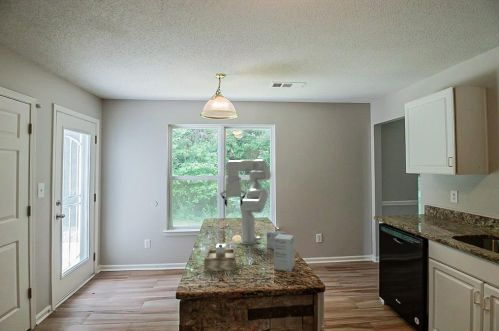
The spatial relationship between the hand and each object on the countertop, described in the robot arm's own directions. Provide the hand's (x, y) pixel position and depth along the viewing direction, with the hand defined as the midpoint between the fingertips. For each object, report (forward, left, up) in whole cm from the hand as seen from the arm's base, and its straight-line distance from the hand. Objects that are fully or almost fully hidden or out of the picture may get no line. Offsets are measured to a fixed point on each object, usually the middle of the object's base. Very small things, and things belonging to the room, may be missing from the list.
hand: (233, 205), depth 180 cm
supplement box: (-28, +32, -30) cm, 52 cm away
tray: (+7, +26, -30) cm, 40 cm away
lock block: (+7, +26, -25) cm, 36 cm away
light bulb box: (-28, -5, -30) cm, 42 cm away
